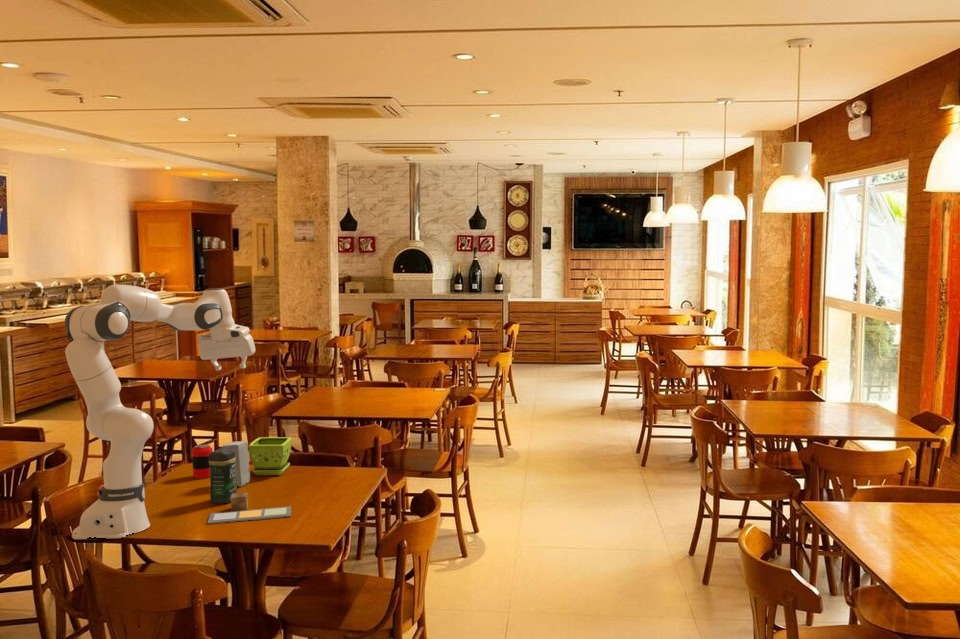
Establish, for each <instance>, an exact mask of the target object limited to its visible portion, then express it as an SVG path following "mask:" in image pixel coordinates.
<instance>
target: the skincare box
mask: <svg viewBox="0 0 960 639" xmlns="http://www.w3.org/2000/svg"><path fill="white" fill-rule="evenodd" d="M222 447H232V448H233V449H234V450H235V457H236V459H235V474H236V486H238V487H239V488H242V487H243V485H244V486H245V485H247V484H248V483H250V482H251V472H250V461H249V445H248V441H247V440H240V441H231V442H227V443H226V444H224V445H222ZM246 483H247V484H246Z"/></svg>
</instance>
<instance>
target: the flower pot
mask: <svg viewBox="0 0 960 639" xmlns="http://www.w3.org/2000/svg"><path fill="white" fill-rule="evenodd" d="M292 442H293V440H292V437H289V436H285V437H284V436H281V437H280V436H270V437H269V436H264V437H263V436H262V437H258V438H256V439H254V440H253V441H252V442H250V444H249V445H248V454H249V456H250V460H251V463H252V465H253V467H254V468H253V469H252V473H253V475H255V476H258V475H259V476H281V475H282V474H283V473H284V472H285V471H287V470H288V468H289V467H290V465H291V463H290V462H288V460H289V458H290V454H291V450H292ZM286 469H287V470H286Z"/></svg>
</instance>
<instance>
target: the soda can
mask: <svg viewBox="0 0 960 639" xmlns="http://www.w3.org/2000/svg"><path fill="white" fill-rule="evenodd" d="M211 452H213V447H211V445H210V444H198V445H195V446H194V447H193V448H192V449H191V457H192V476H193V478H194V479H196V478H198V479H197V480H200V479H199V478H205V479H209V477H210V465H209V454H210V453H211Z"/></svg>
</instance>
